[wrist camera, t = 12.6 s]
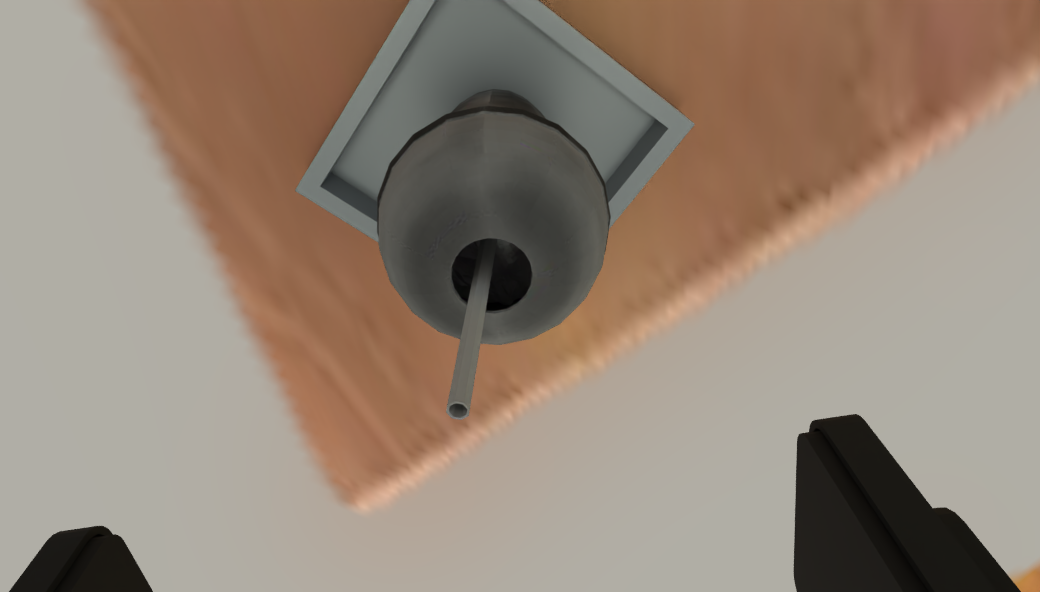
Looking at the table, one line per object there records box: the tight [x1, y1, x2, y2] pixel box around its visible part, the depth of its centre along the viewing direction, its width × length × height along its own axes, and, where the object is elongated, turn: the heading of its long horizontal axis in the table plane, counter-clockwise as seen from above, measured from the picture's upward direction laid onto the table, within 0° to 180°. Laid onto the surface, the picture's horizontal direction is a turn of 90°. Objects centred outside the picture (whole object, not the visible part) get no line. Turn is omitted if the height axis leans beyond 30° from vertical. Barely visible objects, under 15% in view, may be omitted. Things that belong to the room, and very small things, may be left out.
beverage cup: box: [377, 89, 611, 420], centre depth 23 cm, size 7×7×20 cm
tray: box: [295, 0, 694, 243], centre depth 32 cm, size 12×12×3 cm
